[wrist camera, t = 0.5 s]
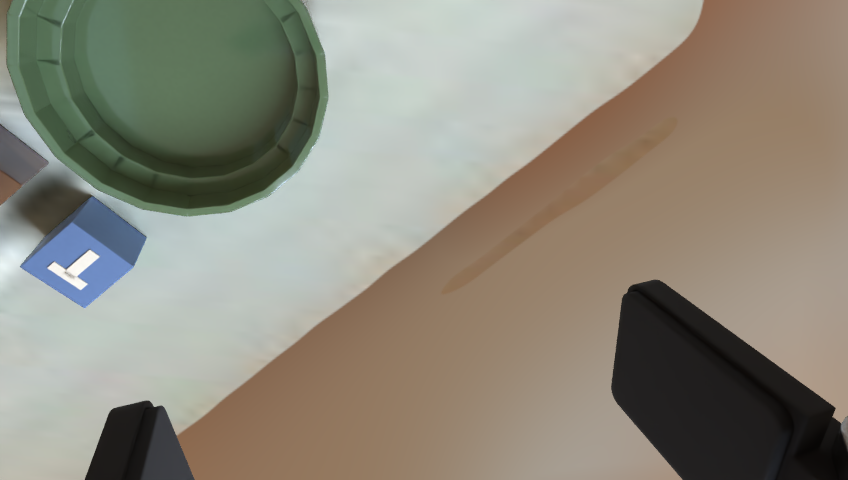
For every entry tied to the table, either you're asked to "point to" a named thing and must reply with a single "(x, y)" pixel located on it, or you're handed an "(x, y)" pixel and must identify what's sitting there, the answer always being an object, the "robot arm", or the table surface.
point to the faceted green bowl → (172, 95)
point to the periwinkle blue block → (86, 253)
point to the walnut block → (16, 164)
